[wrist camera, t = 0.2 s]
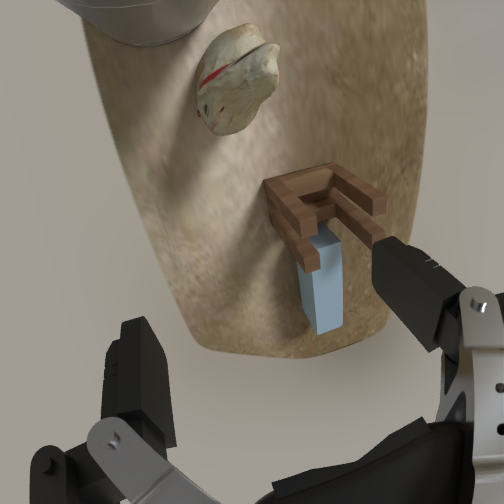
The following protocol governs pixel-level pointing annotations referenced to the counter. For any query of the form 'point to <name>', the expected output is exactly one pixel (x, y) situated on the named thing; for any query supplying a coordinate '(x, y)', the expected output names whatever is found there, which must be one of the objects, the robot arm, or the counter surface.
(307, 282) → the rail
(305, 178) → the wooden stool base
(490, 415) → the robot arm
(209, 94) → the chocolate bunny
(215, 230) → the counter surface
